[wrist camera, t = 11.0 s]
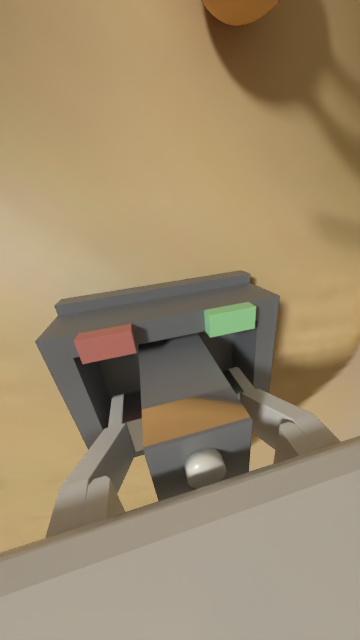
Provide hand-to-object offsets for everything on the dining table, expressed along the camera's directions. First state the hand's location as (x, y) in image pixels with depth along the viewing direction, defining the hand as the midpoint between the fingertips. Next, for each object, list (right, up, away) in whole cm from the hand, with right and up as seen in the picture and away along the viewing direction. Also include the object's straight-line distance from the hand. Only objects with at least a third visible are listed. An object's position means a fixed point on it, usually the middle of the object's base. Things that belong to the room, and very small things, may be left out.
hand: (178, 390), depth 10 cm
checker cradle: (-1, +1, +3) cm, 4 cm away
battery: (0, +1, +2) cm, 2 cm away
